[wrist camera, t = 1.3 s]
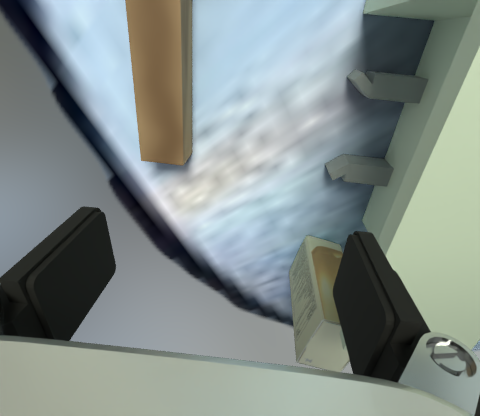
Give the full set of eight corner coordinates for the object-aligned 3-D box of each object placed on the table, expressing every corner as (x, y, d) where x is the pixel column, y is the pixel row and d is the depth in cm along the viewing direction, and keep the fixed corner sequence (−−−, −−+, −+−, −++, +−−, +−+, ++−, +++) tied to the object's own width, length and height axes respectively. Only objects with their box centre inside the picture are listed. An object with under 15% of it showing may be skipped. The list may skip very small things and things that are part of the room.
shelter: (368, -11, 22) (545, -100, 8) (464, -2, 21) (825, -79, 7) (312, 214, 32) (343, 349, 18) (375, 222, 32) (457, 366, 18)
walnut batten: (153, 148, 30) (140, 160, 27) (140, -40, 22) (119, -52, 19) (192, 152, 30) (183, 165, 26) (192, -35, 22) (179, -47, 19)
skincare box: (320, 280, 37) (339, 377, 26) (287, 271, 36) (294, 365, 26) (342, 241, 33) (374, 334, 23) (306, 231, 33) (322, 321, 23)
